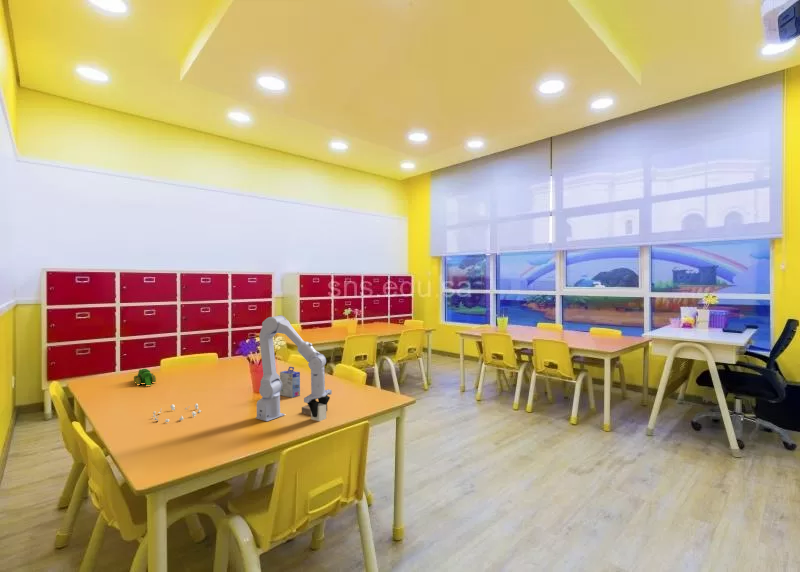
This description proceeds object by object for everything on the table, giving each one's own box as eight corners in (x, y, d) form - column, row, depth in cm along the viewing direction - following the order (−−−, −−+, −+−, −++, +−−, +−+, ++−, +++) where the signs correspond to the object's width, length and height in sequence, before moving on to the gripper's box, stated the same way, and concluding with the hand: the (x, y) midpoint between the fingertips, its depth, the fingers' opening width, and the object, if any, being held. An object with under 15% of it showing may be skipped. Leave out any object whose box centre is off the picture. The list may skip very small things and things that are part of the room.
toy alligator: (147, 376, 252) (147, 362, 252) (158, 385, 228) (157, 370, 228) (129, 379, 246) (129, 365, 246) (138, 389, 222) (138, 373, 222)
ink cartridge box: (301, 395, 204) (300, 367, 203) (292, 398, 199) (292, 369, 199) (287, 392, 209) (287, 365, 209) (279, 395, 204) (278, 367, 204)
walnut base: (314, 417, 172) (314, 410, 172) (301, 413, 176) (301, 407, 176) (327, 411, 178) (327, 405, 178) (314, 408, 183) (314, 402, 183)
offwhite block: (319, 421, 165) (319, 407, 165) (311, 419, 168) (310, 405, 168) (326, 418, 169) (326, 404, 169) (317, 416, 171) (317, 402, 171)
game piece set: (155, 413, 181) (154, 404, 181) (203, 406, 189) (203, 398, 188) (146, 427, 163) (146, 418, 163) (200, 419, 171) (200, 411, 171)
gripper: (312, 388, 160) (312, 422, 160) (336, 380, 172) (337, 411, 172) (300, 386, 164) (300, 418, 164) (324, 378, 176) (325, 409, 176)
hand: (318, 415), depth 168 cm, fingers closed on offwhite block, 4 cm apart
